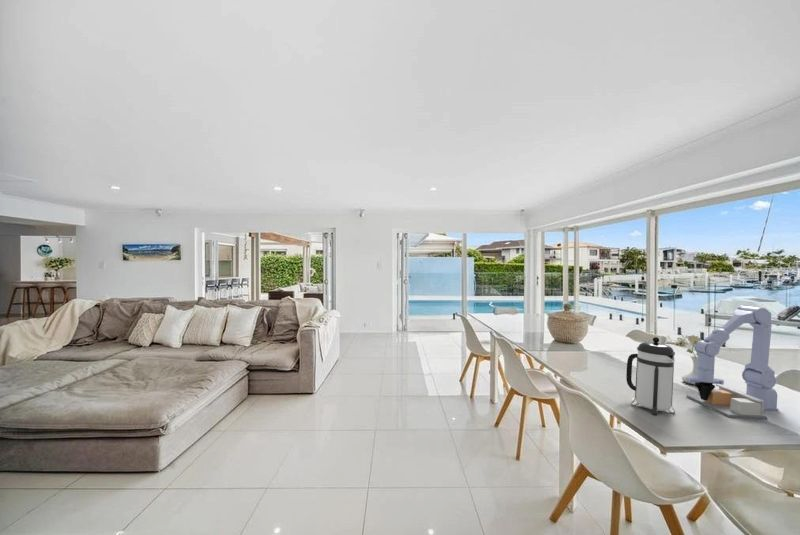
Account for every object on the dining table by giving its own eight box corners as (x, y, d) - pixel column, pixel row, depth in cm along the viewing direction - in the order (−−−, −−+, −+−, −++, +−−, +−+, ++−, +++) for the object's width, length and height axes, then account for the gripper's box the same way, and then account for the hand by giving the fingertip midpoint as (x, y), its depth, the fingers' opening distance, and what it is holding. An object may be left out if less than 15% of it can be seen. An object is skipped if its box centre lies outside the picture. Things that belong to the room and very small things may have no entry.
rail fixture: (720, 399, 165) (720, 383, 165) (767, 419, 143) (768, 402, 143) (686, 397, 166) (687, 382, 166) (728, 417, 144) (729, 399, 144)
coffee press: (673, 407, 151) (677, 337, 151) (676, 420, 138) (680, 342, 138) (625, 397, 161) (628, 331, 161) (623, 408, 148) (627, 336, 148)
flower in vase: (715, 388, 180) (717, 339, 180) (690, 386, 182) (692, 337, 182) (698, 380, 193) (700, 334, 193) (674, 378, 195) (677, 332, 195)
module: (722, 401, 159) (723, 389, 159) (731, 405, 155) (732, 393, 155) (703, 400, 160) (704, 388, 160) (712, 403, 155) (713, 392, 155)
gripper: (714, 367, 161) (713, 397, 161) (681, 365, 162) (680, 395, 162) (728, 371, 154) (727, 403, 154) (694, 369, 155) (692, 401, 155)
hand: (703, 399), depth 158 cm, fingers closed
